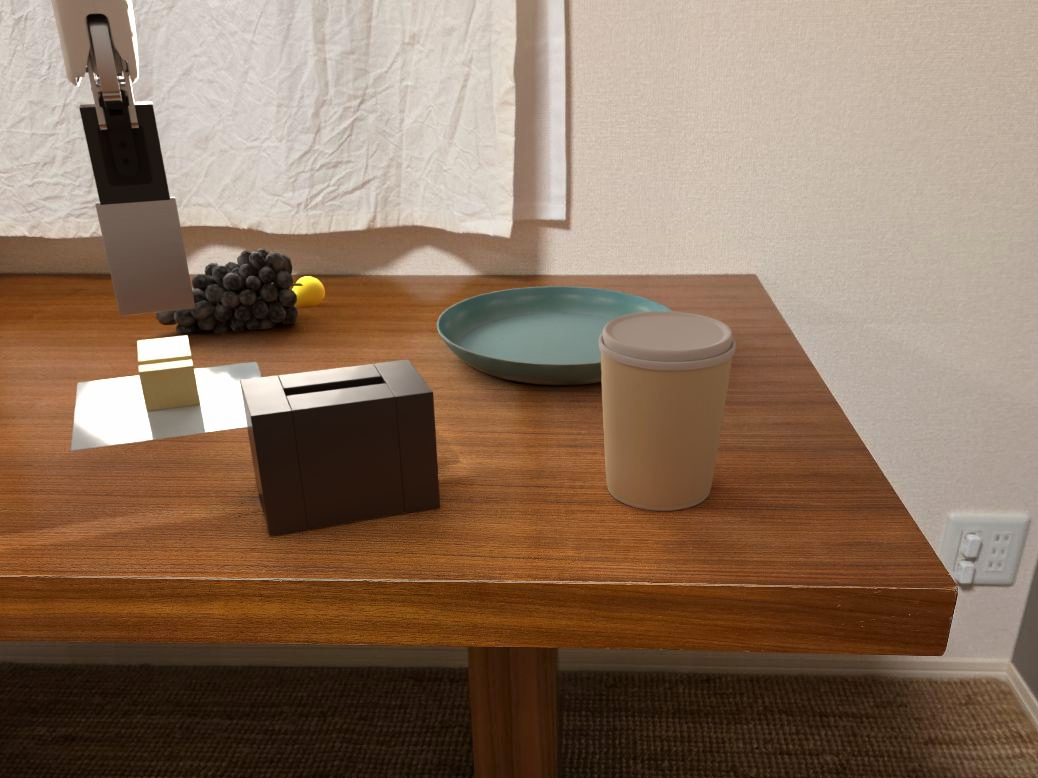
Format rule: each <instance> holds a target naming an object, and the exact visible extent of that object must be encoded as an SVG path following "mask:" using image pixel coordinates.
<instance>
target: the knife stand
mask: <svg viewBox="0 0 1038 778" xmlns="http://www.w3.org/2000/svg"><path fill="white" fill-rule="evenodd" d="M240 385H241V391H242V397H243V404H244V410H245V416H246V422H247V427H246V429H247V434H248V440H249V446H250V453H251V458H252V465H253V472H254V477H255V483H256V487H257V491H258V495H257V496H258V499H259V502H260V506H261V511H262V514H263V517H264V521H265V525H266V529H267V532H268V536H269V537H274V536H281V535H286V534H287V535H288V534H292V533H299V532H304V531H305V532H306V531H308V530H316V529H322V528H328V527H333V526H340V525H345V524H351V523H358V522H363V521H368V520H374V519H375V520H376V519H381V518H387V517H392V516H398V515H404V514H409V513H416V512H422V511H428V510H434V509H439V508H441V498H440V497H441V496H440V480H439V464H438V463H439V462H438V449H437V448H438V447H437V430H436V416H435V415H436V414H435V399H434V398H435V397H434V391H433V390H432V389H431V387H430V386H429V384H428V383H427V381H425V379H424V378H423V377H422V375H421V374H420V373H419V371H418V369H416V367H415V366H414V364H413V363H412V362H411V360H410V359H400V360H393V361H391V360H390V361H385V362H376V363H370V364H362V365H352V366H344V367H336V368H335V367H334V368H327V369H321V370H320V369H319V370H311V371H304V372H303V371H302V372H295V373H288V374H279V375H269V376H262V377H260V378H252V379H244V380H240Z"/></svg>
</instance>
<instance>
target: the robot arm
mask: <svg viewBox="0 0 1038 778" xmlns="http://www.w3.org/2000/svg"><path fill="white" fill-rule="evenodd" d="M50 1H51V5H52V6H51V7H52V10H53V14H54V15H53V16H54V19H55V24H56V25H55V26H56V28H57V30H56V31H57V34H58V38H59V44H60V48H61V53H62V54H61V55H62V58H63V63H64V68H65V73H66V79H67V82H69V84H71V85H72V86H74V87H80V84H81V81H82V78H86V74H87V73H88V78H89V83H90V90H91V92H92V97H93V102H94V104H95V107H96V112H97V117H98V122H99V126H100V130H97V131H98V136H99V141H100V146H101V150H102V155H103V160H104V165H105V169H106V174H107V179H108V183H109V184H110V185H111V186H128V185H143V184H150V183H151V182H152V175H151V170H150V165H149V159H148V154H147V149H146V144H145V138H144V133H143V128H139V125H138V120H137V115H136V110H135V104H134V102H135V98H134V93H133V86H132V85H133V84H135V83H136V82H137V81H138V80H139V78H140V73H139V51H138V38H137V29H136V22H135V15H134V8H133V7H134V6H133V1H132V0H50ZM127 108H128V109H127ZM128 111H129V114H128ZM129 117H130V119H129ZM130 123H131V124H130ZM107 126H108V127H107ZM131 127H132V128H131Z"/></svg>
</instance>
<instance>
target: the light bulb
mask: <svg viewBox="0 0 1038 778" xmlns="http://www.w3.org/2000/svg"><path fill="white" fill-rule="evenodd" d="M296 283H301V284H302V285H303V286H292V287H293V288H292V289H291V290H293V291H294V292H295V294H296V295H297V302H296V303H295V306H296V308H297V309H307V308H315V307H316V308H317V307H318V306H319V305H321V303H322V302H323V300H324V298H325V297H326V291H325V286H324V284H323V283H322V282H321V281H320V280H319V278H316V277H313V276H311V275H309V276H308V275H307V276H306V275H305V276H302V277H300V278H299V279H298V280H297V281H296Z"/></svg>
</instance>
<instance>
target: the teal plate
mask: <svg viewBox="0 0 1038 778" xmlns="http://www.w3.org/2000/svg"><path fill="white" fill-rule="evenodd" d="M652 311H673V310H672V309H671V308H669V307H668V306H666V305H663V304H662V303H659V302H658V301H655V300H653V299H650V298H647V297H643V296H641V295H637V294H632V293H628V292H623V291H618V290H614V289H606V288H598V287H586V286H573V285H572V286H571V285H547V286H545V285H543V286H542V285H541V286H528V287H517V288H516V287H515V288H508V289H501V290H496V291H491V292H487V293H481V294H478V295H475V296H472V297H468V298H466V299H463V300H461V301H459V302H456V303H455V304H452V305H451V306H449V307H447V308H446V309H444V311H443V312H441V314H440V315H439V316H438V318H437V320H436V329H437V332H438V334H439V336H440V338H441V340H442V341H443V343H444V344H445V345H446V347H447V348H448V349H449V350H450V352H452V353H453V354H454V355H455V356H456V357H457V358H459V359H460V360H461V361H463V362H464V363H466V364H467V365H469V366H471V367H472V368H474V369H476V370H478V371H479V372H482V373H485V374H487V375H489V374H490V376H492V377H495V378H498V379H502V380H506V381H511V382H516V381H517V383H522V382H523V384H530V383H531V385H544V386H578V385H579V386H581V385H589V384H599V383H602V379H601V351H600V349H599V337H600V335H601V334H602V333H603V329H604V327H605V325H606V324H607V323H608V322H610V321H611V320H613V319H615V318H618V317H621V316H624V315H628V314H633V313H640V312H652Z"/></svg>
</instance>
